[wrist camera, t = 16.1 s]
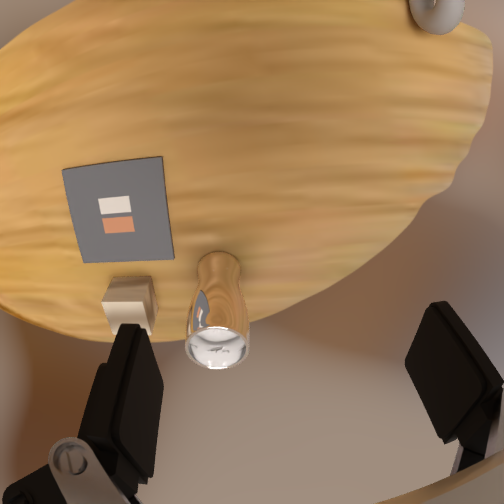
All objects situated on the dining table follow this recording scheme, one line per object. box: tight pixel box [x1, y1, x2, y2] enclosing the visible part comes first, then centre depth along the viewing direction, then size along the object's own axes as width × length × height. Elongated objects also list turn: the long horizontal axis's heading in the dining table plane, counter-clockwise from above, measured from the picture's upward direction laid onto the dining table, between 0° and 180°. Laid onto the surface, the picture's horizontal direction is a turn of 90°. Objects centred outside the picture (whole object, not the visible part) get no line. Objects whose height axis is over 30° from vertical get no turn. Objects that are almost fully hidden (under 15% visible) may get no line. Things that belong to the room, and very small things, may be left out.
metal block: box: [101, 276, 158, 335], centre depth 42 cm, size 6×6×6 cm
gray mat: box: [62, 156, 175, 263], centre depth 38 cm, size 14×14×1 cm
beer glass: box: [185, 252, 249, 370], centre depth 37 cm, size 7×7×15 cm
